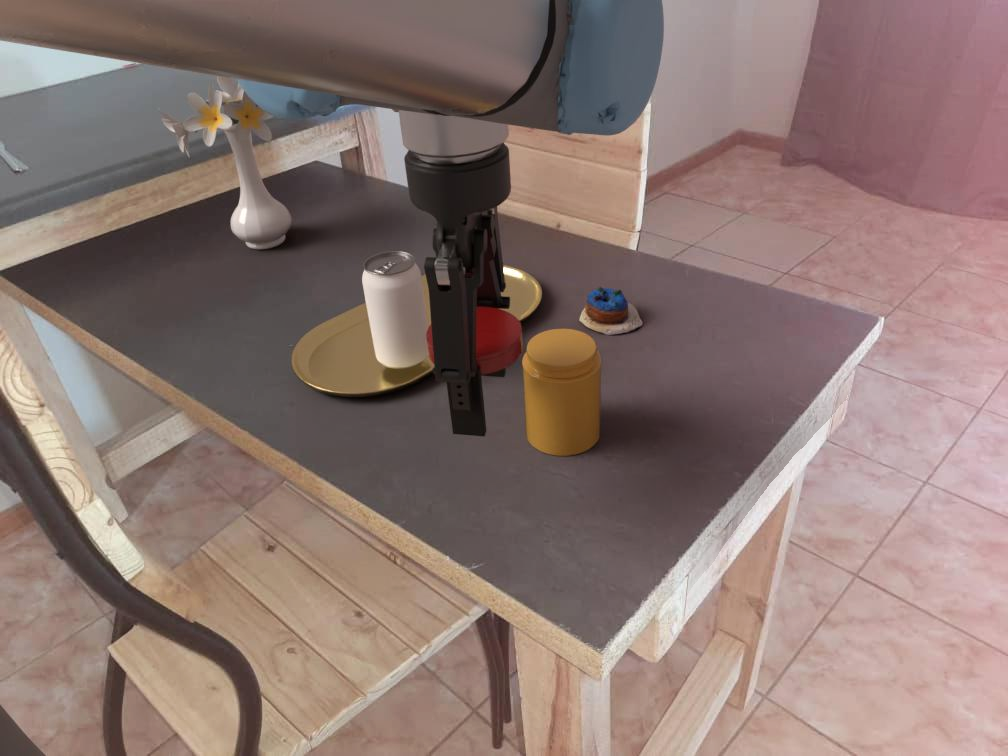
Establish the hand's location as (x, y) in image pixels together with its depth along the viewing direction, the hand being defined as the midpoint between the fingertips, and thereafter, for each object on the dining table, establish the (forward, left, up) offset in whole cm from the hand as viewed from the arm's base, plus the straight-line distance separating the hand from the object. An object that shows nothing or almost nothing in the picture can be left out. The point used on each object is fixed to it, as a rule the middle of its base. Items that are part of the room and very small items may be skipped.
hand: (480, 401), depth 68 cm
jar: (+9, -6, -10) cm, 15 cm away
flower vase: (+50, +47, -10) cm, 69 cm away
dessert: (+32, -9, -10) cm, 35 cm away
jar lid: (0, 0, +7) cm, 7 cm away
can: (+19, +14, -9) cm, 25 cm away
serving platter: (+27, +14, -10) cm, 32 cm away
